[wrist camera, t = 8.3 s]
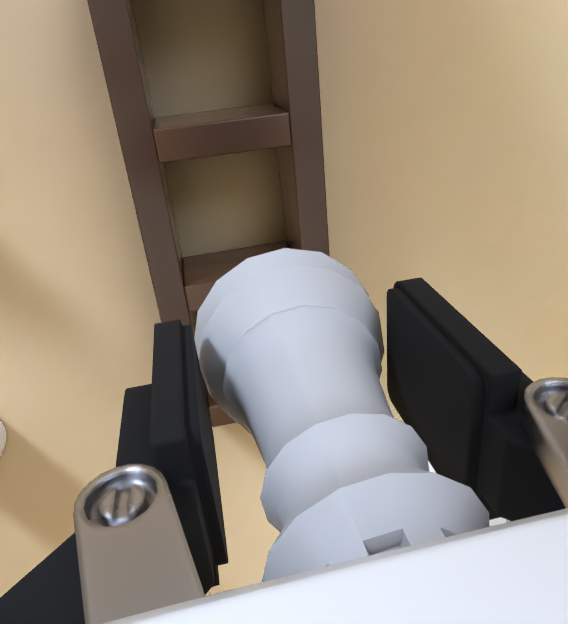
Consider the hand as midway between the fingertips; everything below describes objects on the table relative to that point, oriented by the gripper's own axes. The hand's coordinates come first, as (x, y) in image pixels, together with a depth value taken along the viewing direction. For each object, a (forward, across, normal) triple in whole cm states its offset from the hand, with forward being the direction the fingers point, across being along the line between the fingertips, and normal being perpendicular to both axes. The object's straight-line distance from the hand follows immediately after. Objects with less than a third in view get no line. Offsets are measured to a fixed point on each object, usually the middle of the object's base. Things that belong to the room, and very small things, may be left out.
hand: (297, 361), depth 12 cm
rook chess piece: (+2, 0, 0) cm, 2 cm away
